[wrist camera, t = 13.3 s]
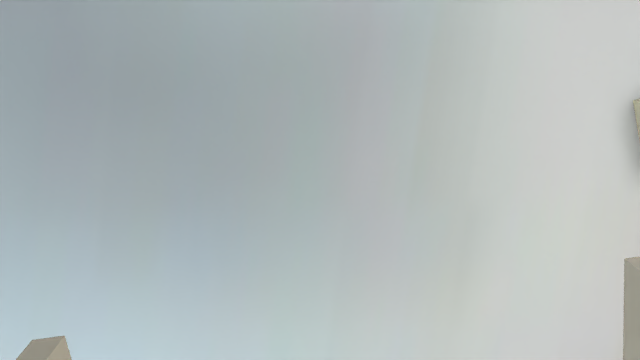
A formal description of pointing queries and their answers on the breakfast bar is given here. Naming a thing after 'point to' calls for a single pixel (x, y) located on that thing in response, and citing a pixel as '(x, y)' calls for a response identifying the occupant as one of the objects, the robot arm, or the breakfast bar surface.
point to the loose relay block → (637, 114)
